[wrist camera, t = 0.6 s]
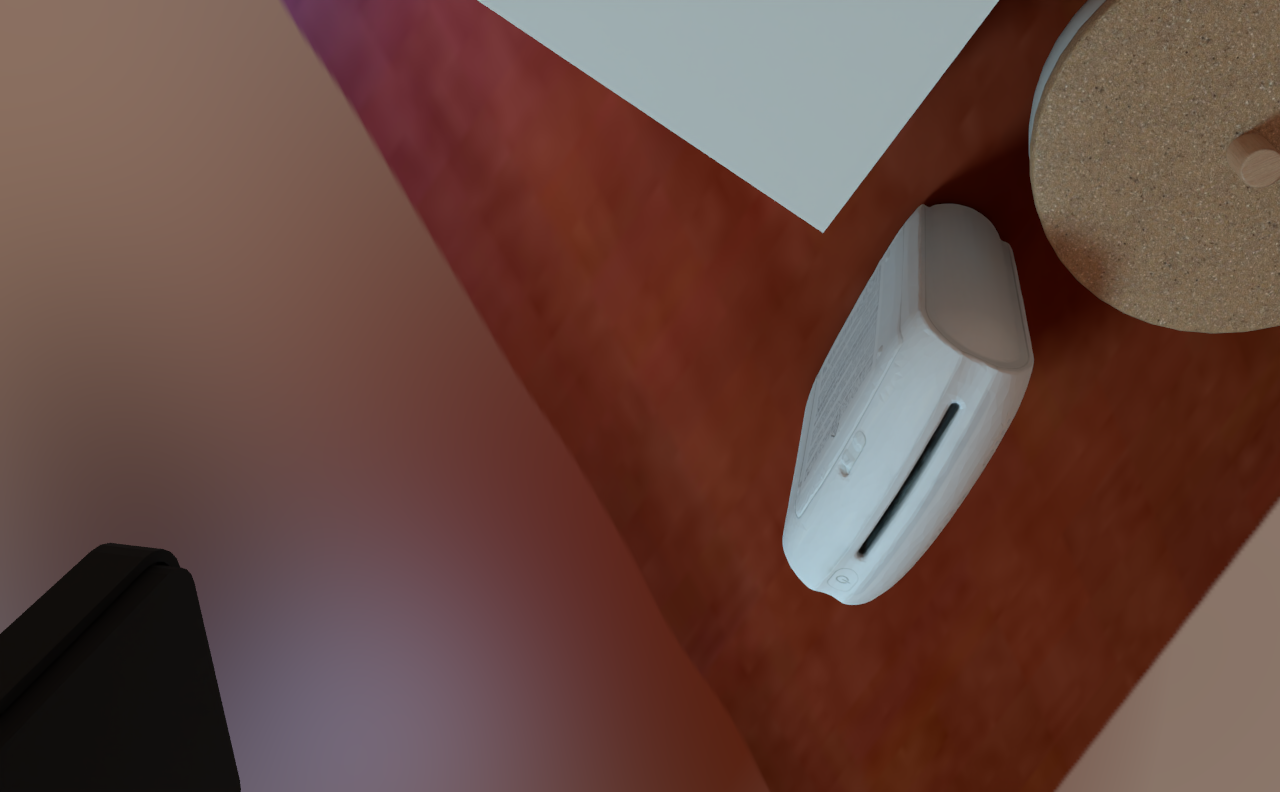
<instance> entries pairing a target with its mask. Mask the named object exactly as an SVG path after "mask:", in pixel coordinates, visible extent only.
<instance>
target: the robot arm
mask: <svg viewBox="0 0 1280 792" xmlns="http://www.w3.org/2000/svg"><path fill="white" fill-rule="evenodd" d="M0 792H241V788H240V780H239V775H238V771H237V766H236V762H235V758H234V754H233V749H232V745H231V740H230V736H229V732H228V727H227V723H226V718H225V715H224V710H223V706H222V701H221V697H220V692H219V688H218V684H217V680H216V675H215V671H214V666H213V662H212V657H211V653H210V649H209V644H208V640H207V636H206V632H205V627H204V623H203V618H202V614H201V610H200V605H199V601H198V597H197V592H196V588H195V584H194V580H193V578H192V575H191V574H190V573H189V572H188V570H187V569H183V568H180V566H179V563H178V561H177V558H176V557H175V556H174V555H173V554H172V553H171V552H169V551H166V550H164V549H156V548H148V547H139V546H131V545H123V544H115V543H107V544H102V545H100V546H98V547H97V548H95V549H94V550H92V551H91V552H90V553H89V554H87V555H86V556H85V557H84V558H83V559H82V560H81V561H80V562H79V563H78V564H77V565H75V566H74V567H73V568H72V569H71V570H70V571H69V572H68V573H67V574H66V575H64V576H63V577H62V578H61V579H60V580H59V581H58V582H57V583H56V584H55V585H54V586H52V587H51V588H50V589H49V590H48V591H47V592H46V593H45V594H44V595H43V596H41V598H39V599H38V600H37V601H36V602H35V603H34V604H33V605H32V606H31V607H29V608H28V609H27V610H26V611H25V612H24V613H23V614H22V615H21V616H20V617H19V618H17V619H16V620H15V621H14V622H13V623H12V624H11V625H10V626H9V627H8V628H6V629H5V630H4V631H3V632H2V633H1V634H0Z"/></svg>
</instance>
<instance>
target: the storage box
mask: <svg viewBox="0 0 1280 792" xmlns="http://www.w3.org/2000/svg"><path fill="white" fill-rule="evenodd" d="M478 1H479V2H481V3H482V4H484V5H485V6H487V7H488V8H490V9H491V10H493V11H494V12H496V13H497V14H499V15H500V16H502V17H503V18H505V19H506V20H507V21H509V22H510V23H512V24H513V25H515V26H516V27H518V28H519V29H521V30H522V31H524V32H525V33H527V34H528V35H530V36H531V37H533V38H534V39H536V40H537V41H539V42H540V43H542V44H543V45H545V46H546V47H548V48H549V49H551V50H552V51H554V52H555V53H557V54H558V55H559V56H561V57H562V58H564V59H565V60H567V61H568V62H570V63H571V64H573V65H574V66H576V67H577V68H579V69H580V70H582V71H583V72H585V73H586V74H588V75H589V76H591V77H592V78H594V79H595V80H597V81H598V82H600V83H601V84H603V85H604V86H606V87H607V88H609V89H610V90H611V91H613V92H614V93H616V94H617V95H619V96H620V97H622V98H623V99H625V100H626V101H628V102H629V103H631V104H632V105H634V106H635V107H637V108H638V109H640V110H641V111H643V112H644V113H646V114H647V115H649V116H650V117H652V118H653V119H655V120H656V121H658V122H659V123H660V124H662V125H663V126H665V127H666V128H668V129H669V130H671V131H672V132H674V133H675V134H677V135H678V136H680V137H681V138H683V139H684V140H686V141H687V142H689V143H690V144H692V145H693V146H695V147H696V148H698V149H699V150H701V151H702V152H704V153H705V154H707V155H708V156H710V157H711V158H712V159H714V160H715V161H717V162H718V163H720V164H721V165H723V166H724V167H726V168H727V169H729V170H730V171H732V172H733V173H735V174H736V175H738V176H739V177H741V178H742V179H744V180H745V181H747V182H748V183H750V184H751V185H753V186H754V187H756V188H757V189H759V190H760V191H762V192H763V193H764V194H766V195H767V196H769V197H770V198H772V199H773V200H775V201H776V202H778V203H779V204H781V205H782V206H784V207H785V208H787V209H788V210H790V211H791V212H793V213H794V214H796V215H797V216H799V217H800V218H802V219H803V220H805V221H806V222H808V223H809V224H811V225H812V226H813V227H815V228H816V229H818V230H819V231H821V232H822V233H823V232H824V231H825V230H826V228H827V227H828V226H829V224H830V223H831V222H832V220H833V219H834V218H835V217H836V215H837V214H838V213H839V211H840V210H841V209H842V207H843V206H844V205H845V203H846V202H847V201H848V199H849V198H850V197H851V195H852V194H853V193H854V191H855V190H856V189H857V187H858V186H859V185H860V183H861V182H862V181H863V179H864V178H865V177H866V176H867V174H868V173H869V172H870V170H871V169H872V168H873V166H874V165H875V164H876V162H877V161H878V160H879V158H880V157H881V156H882V154H883V153H884V152H885V150H886V149H887V148H888V146H889V145H890V144H891V142H892V141H893V140H894V139H895V137H896V136H897V135H898V133H899V132H900V131H901V129H902V128H903V127H904V125H905V124H906V123H907V121H908V120H909V119H910V117H911V116H912V115H913V113H914V112H915V111H916V109H917V108H918V107H919V105H920V104H921V103H922V101H923V100H924V99H925V98H926V96H927V95H928V94H929V92H930V91H931V90H932V88H933V87H934V86H935V84H936V83H937V82H938V80H939V79H940V78H941V76H942V75H943V74H944V72H945V71H946V70H947V68H948V67H949V66H950V64H951V63H952V62H953V60H954V59H955V58H956V57H957V55H958V54H959V53H960V51H961V50H962V49H963V47H964V46H965V45H966V43H967V42H968V41H969V39H970V38H971V37H972V35H973V34H974V33H975V31H976V30H977V29H978V27H979V26H980V25H981V23H982V22H983V21H984V20H985V18H986V17H987V16H988V14H989V13H990V12H991V10H992V9H993V8H994V6H995V5H996V4H997V2H998V1H999V0H478Z"/></svg>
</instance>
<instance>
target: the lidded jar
mask: <svg viewBox="0 0 1280 792" xmlns="http://www.w3.org/2000/svg"><path fill="white" fill-rule="evenodd" d="M1029 159H1030V180H1031V186H1032V191H1033V197H1034V203H1035V207H1036V210H1037V213H1038V215H1039V218H1040V221H1041V224H1042V227H1043V229H1044V232H1045V235H1046V237H1047V239H1048V240H1049V242H1050V244H1051V246H1052V247H1053V249H1054V251H1055V252H1056V254H1057V256H1058V258H1059V259H1060V261H1061V262H1062V263H1063V264H1064V265H1065V267H1066V268H1067V269H1068V270H1069V271H1070V272H1071V274H1072V275H1073V276H1074V277H1075V278H1076V280H1077V281H1078V282H1080V283H1081V284H1082V285H1083V286H1084V287H1086V288H1087V289H1088V290H1089V291H1090V292H1092V293H1093V294H1094V295H1095V296H1096V297H1098V298H1099V299H1100V300H1102V301H1104V302H1106V303H1107V304H1109V305H1111V306H1112V307H1114V308H1116V309H1117V310H1119V311H1121V312H1123V313H1125V314H1127V315H1130V316H1132V317H1135V318H1137V319H1140V320H1142V321H1145V322H1148V323H1150V324H1154V325H1158V326H1162V327H1167V328H1171V329H1176V330H1180V331H1190V332H1202V333H1231V332H1247V331H1252V330H1258V329H1264V328H1269V327H1275V326H1279V325H1280V0H1088V1H1087V2H1086V3H1085V4H1084V5H1083V6H1082V7H1081V8H1080V10H1079V11H1078V12H1077V13H1076V14H1075V15H1074V16H1073V18H1072V19H1071V20H1070V22H1069V23H1068V25H1067V26H1066V28H1065V29H1064V30H1063V32H1062V33H1061V35H1060V36H1059V38H1058V39H1057V41H1056V42H1055V44H1054V46H1053V48H1052V50H1051V52H1050V54H1049V56H1048V58H1047V60H1046V62H1045V64H1044V66H1043V69H1042V72H1041V75H1040V78H1039V81H1038V84H1037V87H1036V90H1035V94H1034V99H1033V105H1032V111H1031V117H1030V123H1029Z"/></svg>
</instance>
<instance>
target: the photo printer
mask: <svg viewBox="0 0 1280 792" xmlns="http://www.w3.org/2000/svg"><path fill="white" fill-rule="evenodd" d="M1033 365H1034V356H1033V351H1032V345H1031V340H1030V334H1029V329H1028V324H1027V319H1026V313H1025V307H1024V303H1023V297H1022V293H1021V288H1020V283H1019V278H1018V272H1017V267H1016V264H1015V259H1014V254H1013V250H1012V248H1011V246H1010V245H1009V243H1007V242H1004V241H1002V240H1000V237H999V234H998V232H997V230H996V229H995V227H994V225H993V224H992V223H991V222H990V221H989V220H988V219H987V218H986V217H985V216H984V215H982V214H981V213H979V212H978V211H976V210H974V209H972V208H969V207H967V206H963V205H959V204H937V205H933V206H931V207H927V206H926V205H924V204H922V205H921V206H919V207H918V208H917V209H916V210H915V212H914V213H913V214H912V215H911V216H910V217H909V219H908V220H907V221H906V222H905V224H904V225H903V226H902V228H901V229H900V230H899V232H898V233H897V235H896V236H895V238H894V240H893V241H892V243H891V244H890V246H889V248H888V249H887V251H886V252H885V254H884V256H883V257H882V259H881V260H880V261H879V264H878V266H877V268H876V269H875V271H874V273H873V274H872V276H871V278H870V280H869V281H868V283H867V285H866V287H865V288H864V290H863V292H862V293H861V295H860V297H859V299H858V300H857V302H856V304H855V306H854V308H853V310H852V311H851V313H850V315H849V317H848V319H847V320H846V322H845V324H844V326H843V328H842V329H841V331H840V333H839V335H838V336H837V338H836V340H835V342H834V344H833V346H832V348H831V350H830V352H829V354H828V356H827V357H826V359H825V361H824V363H823V365H822V367H821V369H820V371H819V373H818V375H817V377H816V379H815V382H814V384H813V386H812V389H811V392H810V395H809V398H808V401H807V405H806V409H805V414H804V420H803V426H802V432H801V438H800V444H799V450H798V455H797V461H796V467H795V472H794V477H793V483H792V488H791V494H790V499H789V505H788V511H787V516H786V521H785V527H784V532H783V549H784V553H785V555H786V558H787V560H788V562H789V565H790V566H791V568H792V569H793V571H794V572H795V574H796V575H797V576H798V577H799V578H800V580H801V581H802V582H803V583H804V584H805V585H806V586H807V587H808V588H810V589H812V590H814V591H819V592H823V593H826V594H829V595H831V596H833V597H834V598H836V599H837V600H839V601H840V602H841V603H843V604H848V605H858V604H864V603H866V602H869V601H872V600H873V599H875V598H876V597H878V596H879V595H881V594H882V593H884V592H885V591H887V590H888V589H889V588H891V587H892V586H893V585H894V584H895V583H897V582H898V581H899V580H900V579H901V578H902V577H903V576H904V575H905V574H906V573H907V572H908V571H909V570H910V569H911V568H912V567H913V566H914V564H915V563H916V562H917V561H918V560H919V559H920V557H921V556H922V555H923V554H924V553H925V552H926V550H927V549H928V548H929V547H930V546H931V544H932V543H933V542H934V540H935V539H936V538H937V537H938V535H939V534H940V532H941V531H942V530H943V528H944V527H945V526H946V524H947V523H948V522H949V520H950V519H951V518H952V516H953V515H954V513H955V512H956V510H957V509H958V507H959V506H960V505H961V503H962V502H963V500H964V499H965V497H966V496H967V495H968V493H969V491H970V490H971V488H972V487H973V485H974V484H975V482H976V481H977V479H978V477H979V476H980V474H981V473H982V471H983V470H984V468H985V467H986V465H987V463H988V462H989V460H990V458H991V457H992V455H993V453H994V452H995V450H996V448H997V447H998V445H999V443H1000V441H1001V440H1002V438H1003V436H1004V434H1005V433H1006V431H1007V429H1008V427H1009V425H1010V424H1011V422H1012V420H1013V418H1014V416H1015V414H1016V412H1017V410H1018V408H1019V406H1020V403H1021V401H1022V399H1023V396H1024V393H1025V391H1026V388H1027V386H1028V382H1029V379H1030V376H1031V373H1032V369H1033Z"/></svg>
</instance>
